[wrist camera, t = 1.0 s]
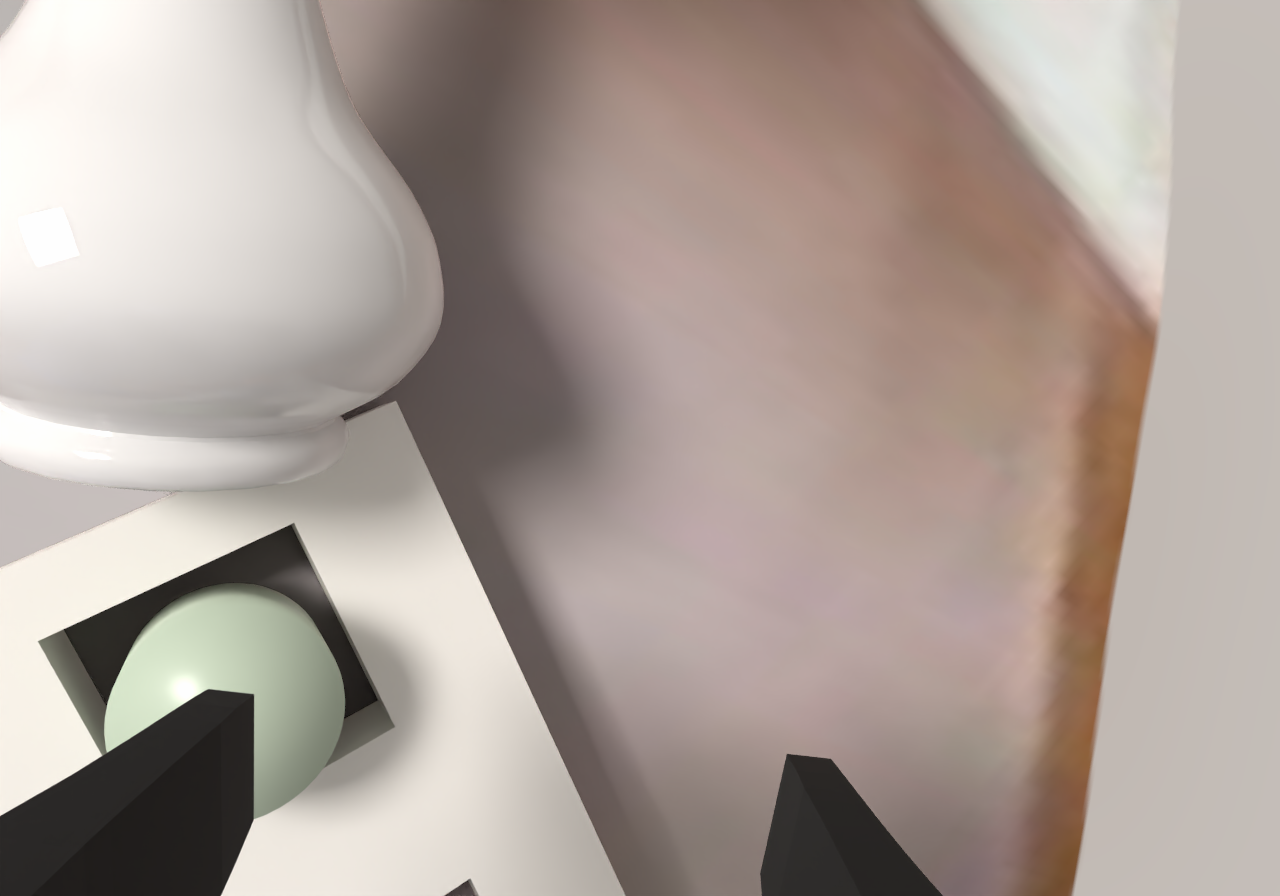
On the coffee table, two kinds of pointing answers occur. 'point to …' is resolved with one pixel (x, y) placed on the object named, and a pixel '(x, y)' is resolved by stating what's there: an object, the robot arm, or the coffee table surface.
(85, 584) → the panel
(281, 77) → the flower vase
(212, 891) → the robot arm
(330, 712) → the sage button
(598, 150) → the coffee table surface
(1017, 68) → the coffee table surface
